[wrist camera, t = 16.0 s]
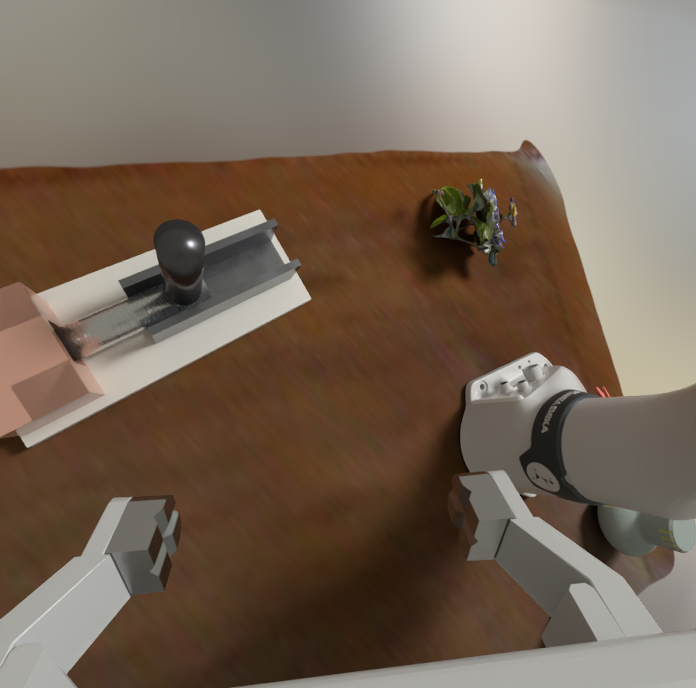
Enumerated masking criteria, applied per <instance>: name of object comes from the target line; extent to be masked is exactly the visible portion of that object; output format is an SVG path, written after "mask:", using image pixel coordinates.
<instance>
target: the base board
mask: <svg viewBox="0 0 696 688" xmlns="http://www.w3.org/2000/svg"><path fill="white" fill-rule="evenodd" d="M264 222H267V221H266V219H265V217H264V216H263V214H262V212H261V211H260V210H257V211H255V212H252V213H249V214H247V215H244V216H241V217H239V218H236V219H233V220H231V221H228V222H226V223H223V224H220V225H218V226H215V227H212V228H210V229H207V230H204V231H202V234H203V236H204V239H205V246H206V245H209V244H211V243H214V242H216V241H219V240H221V239H224V238H226V237H229V236H231V235H234V234H236V233H239V232H241V231H244V230H246V229H249V228H251V227H254V226H257V225H259V224H262V223H264ZM271 242H272V243H273V245H274V247H275V248H276V250H277V252H278V254H279V255H280V257H281V259H282V260H283V262H284V264H287V263H289V262H290V261H289V259H288V257H287V255H286V254H285V252H284V250H283V249H282V247H281V245H280V243H279V242H278V240H277V238H276V236H275V235H273V237H272V240H271ZM158 264H159V263H158V259H157V255H156V251H155V249H154V250H152V251H149V252H146V253H144V254H141V255H138V256H136V257H133V258H131V259H128V260H125V261H123V262H120V263H117V264H115V265H112V266H109V267H107V268H104V269H101V270H99V271H96V272H94V273H91V274H88V275H86V276H83V277H80V278H78V279H75V280H72V281H70V282H67V283H65V284H62V285H59V286H57V287H54V288H51V289H49V290H46V291H43V292H41V293H38V294H37V295H38V296H40V297H41V298H43V299H44V300H45V301H47V302H48V304H49V306H50V307H51V309H52V310H53V312H54V314H55V315H56V317H57V318H58V320H59V322H60V323H61V325H62V326H63V325H65V324H67V323H70V322H72V321H74V320H77V319H79V318H82V317H84V316H86V315H89V314H91V313H94V312H96V311H98V310H101V309H103V308H105V307H108V306H110V305H113V304H115V303H117V302H120V301H122V300H124V299H127V298H128V297H127V295H126V294H125V292H124V290H123V289H122V287H121V285H120V283H119V282H118V280H121V279H123V278H126V277H128V276H131V275H133V274H136V273H138V272H141V271H143V270H146V269H148V268H151V267H153V266H156V265H158ZM310 300H311V297H310V295H309V293H308V292H307V290H306V288H305V287H304V285H303V283H302V281H301V280H300V278H299V276H298V274H297V273H295V274H294V275H293V277H292V278H291V279H289V280H287V281H285V282H283V283H281V284H279V285H277V286H275V287H273V288H271V289H269V290H267V291H265V292H263V293H260V294H258V295H256V296H254V297H252V298H250V299H248V300H246V301H244V302H242V303H240V304H238V305H236V306H234V307H232V308H229V309H227V310H225V311H223V312H221V313H219V314H217V315H215V316H213V317H211V318H209V319H207V320H205V321H203V322H201V323H198V324H196V325H194V326H192V327H190V328H188V329H186V330H184V331H182V332H180V333H178V334H176V335H174V336H172V337H170V338H167V339H165V340H163V341H161V342H159V343H157V344H156V343H155V341H154V339H153V338H152V336H151V335H150V333H149V331H148V330H147V329H146V330H144V331H141V332H139V333H137V334H135V335H133V336H131V337H128V338H126V339H124V340H122V341H120V342H118V343H115V344H113V345H111V346H109V347H107V348H105V349H102V350H100V351H98V352H96V353H94V354H92V355H89V356H87V357H85V358H83V360H84V361H85V363H86V365H87V366H88V368H89V369H90V371H91V373H92V374H93V376H94V377H95V379H96V380H97V382H98V384H99V385H100V387H101V388H102V390H103V392H104V393H105V395H104V396H102V397H100V398H98V399H96V400H94V401H92V402H90V403H88V404H86V405H85V406H83V407H81V408H79V409H77V410H75V411H73V412H71V413H69V414H67V415H65V416H63V417H61V418H59V419H57V420H55V421H53V422H51V423H49V424H47V425H45V426H43V427H41V428H40V429H38V430H36V431H34V432H32V433H30V434H26V435H20V438H21V439H22V441H23V442H24V444H25V445H26V447H27V448H29V447H33V446H35V445H37V444H39V443H41V442H43V441H45V440H47V439H49V438H51V437H53V436H54V435H56V434H58V433H60V432H62V431H64V430H66V429H68V428H70V427H72V426H73V425H75V424H77V423H79V422H81V421H83V420H85V419H87V418H89V417H91V416H92V415H94V414H96V413H98V412H100V411H102V410H104V409H106V408H108V407H110V406H112V405H113V404H115V403H117V402H119V401H121V400H123V399H125V398H127V397H129V396H131V395H132V394H134V393H136V392H138V391H140V390H142V389H144V388H146V387H148V386H150V385H151V384H153V383H155V382H157V381H159V380H161V379H163V378H165V377H167V376H169V375H170V374H172V373H174V372H176V371H178V370H180V369H182V368H184V367H186V366H188V365H189V364H191V363H193V362H195V361H197V360H199V359H201V358H203V357H205V356H207V355H209V354H210V353H212V352H214V351H216V350H218V349H220V348H222V347H224V346H226V345H228V344H229V343H231V342H233V341H235V340H237V339H239V338H241V337H243V336H245V335H247V334H248V333H250V332H252V331H254V330H256V329H258V328H260V327H262V326H264V325H266V324H267V323H269V322H271V321H273V320H275V319H277V318H279V317H281V316H283V315H285V314H287V313H288V312H290V311H292V310H294V309H296V308H298V307H300V306H302V305H304V304H306V303H307V302H309V301H310Z"/></svg>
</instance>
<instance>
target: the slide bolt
mask: <svg viewBox="0 0 696 688" xmlns="http://www.w3.org/2000/svg"><path fill="white" fill-rule="evenodd" d="M154 246H155V251H156V255H157V259H158V263H159V268H160V272H161V276H162V280H163V284H160V285H158V286H155V287H153V288H151V289H148V290H146V291H144V292H141V293H139V294H136V295H134V296H132V297H129V298H127V299H124V300H122V301H120V302H117V303H115V304H113V305H110V306H108V307H105V308H103V309H101V310H98V311H96V312H94V313H91V314H89V315H86V316H84V317H82V318H79V319H77V320H74V321H72V322H70V323H67V324H65V325H63V326H60V327H58V328H55V329H54V331H55V333H56V334H57V336H58V337H59V339H60V340H61V342H62V344H63V345H64V347H65V348H66V350H67V352H68V353H69V355H70V356H71V358H72V359H73V361H74V362H76V361H79V360H81V359H83V358H85V357H87V356H89V355H92V354H94V353H96V352H98V351H100V350H102V349H105V348H107V347H109V346H111V345H113V344H115V343H118V342H120V341H122V340H124V339H126V338H128V337H131V336H133V335H135V334H137V333H139V332H141V331H144V330H146V329H147V328H148V327H150V326H152V325H154V324H157V323H159V322H161V321H163V320H165V319H167V318H170V317H172V316H174V315H176V314H178V313H180V312H183V311H185V310H187V309H189V308H191V307H193V306H196V305H198V304H200V303H202V302H204V301H206V300H209V299H211V294H210V292H209V289H208V287H207V285H206V283H205V282H204V280H203V268H204V255H205V239H204V236H203V234H202V232H201V231H200V230H199V229H198V228H197V227H196V226H195V225H193V224H192V223H190V222H187V221H184V220H170V221H167V222H164V223H163V224H161V225H160V226H159V227H158V228H157V230H156V231H155V234H154Z"/></svg>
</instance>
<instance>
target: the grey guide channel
mask: <svg viewBox="0 0 696 688" xmlns="http://www.w3.org/2000/svg"><path fill="white" fill-rule="evenodd" d="M277 227H278V224H277V222H276V220H275V219H272V220H269V221H267V222H264V223H262V224H259V225H257V226H254V227H251V228H249V229H246V230H244V231H241V232H239V233H236V234H234V235H231V236H229V237H226V238H224V239H221V240H219V241H216V242H214V243H211V244H209V245H206V246H205V255H204V268H203V280H204V282H205V283H206V285H207V287H208V289H209V292H210V294H211V299H209V300H206V301H204V302H202V303H200V304H198V305H196V306H193V307H191V308H189V309H187V310H185V311H183V312H180V313H178V314H176V315H174V316H172V317H170V318H167V319H165V320H163V321H161V322H159V323H157V324H154V325H152V326H150V327H148V328H147V330H148V331H149V333H150V335H151V336H152V338H153V339H154V341H155V343H156V344H157V343H159V342H161V341H163V340H165V339H167V338H170V337H172V336H174V335H176V334H178V333H180V332H182V331H184V330H186V329H188V328H190V327H192V326H194V325H196V324H198V323H201V322H203V321H205V320H207V319H209V318H211V317H213V316H215V315H217V314H219V313H221V312H223V311H225V310H227V309H229V308H232V307H234V306H236V305H238V304H240V303H242V302H244V301H246V300H248V299H250V298H252V297H254V296H256V295H258V294H260V293H263V292H265V291H267V290H269V289H271V288H273V287H275V286H277V285H279V284H281V283H283V282H285V281H287V280H289V279H291V278H292V277H293V275H294V274H295V273H296V271H297V270H298V269H299V268H300V266H301V264H300V262H299V260H298V258H297V259H295V260H293V261H291V262H289V263H287V264H284V262H283V260H282V259H281V257H280V255H279V254H278V252H277V250H276V248H275V247H274V245H273V243H272V242H271V240H272V237H273V235H274V233H275V231H276V229H277ZM118 282H119V283H120V285H121V287H122V289H123V290H124V292H125V294H126V295H127V297H128V298H129V297H132V296H134V295H136V294H139V293H141V292H144V291H146V290H148V289H151V288H153V287H155V286H158V285H160V284H163V280H162V276H161V272H160V268H159V264H158V265H156V266H153V267H151V268H148V269H146V270H143V271H141V272H138V273H136V274H133V275H131V276H128V277H126V278H123V279H121V280H118Z"/></svg>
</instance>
